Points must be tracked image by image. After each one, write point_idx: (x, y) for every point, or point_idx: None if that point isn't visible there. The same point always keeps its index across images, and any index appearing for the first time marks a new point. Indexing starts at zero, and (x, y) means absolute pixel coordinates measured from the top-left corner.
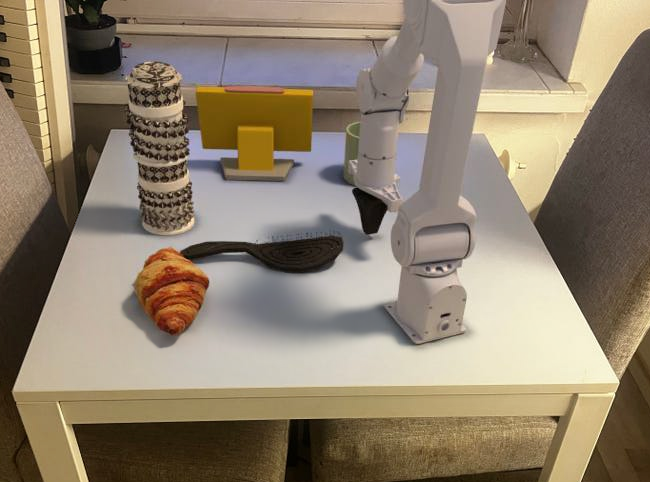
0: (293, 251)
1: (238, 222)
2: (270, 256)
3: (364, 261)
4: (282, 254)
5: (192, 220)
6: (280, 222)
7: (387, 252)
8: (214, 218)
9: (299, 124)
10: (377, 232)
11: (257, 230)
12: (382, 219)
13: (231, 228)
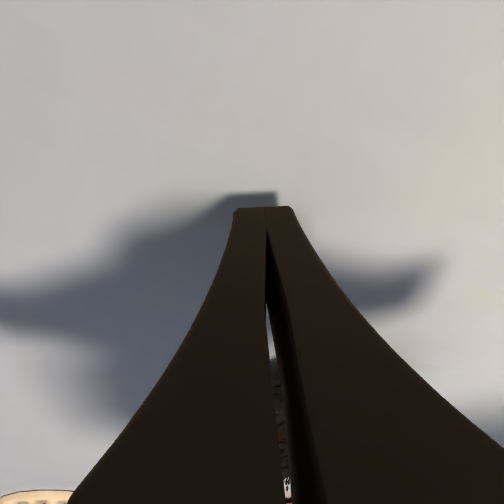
0: (283, 432)
1: (55, 455)
2: (285, 459)
3: (435, 287)
4: (283, 443)
5: (58, 499)
6: (55, 407)
7: (446, 179)
8: (33, 474)
9: None
10: (292, 210)
11: (106, 439)
12: (332, 277)
13: (90, 463)
